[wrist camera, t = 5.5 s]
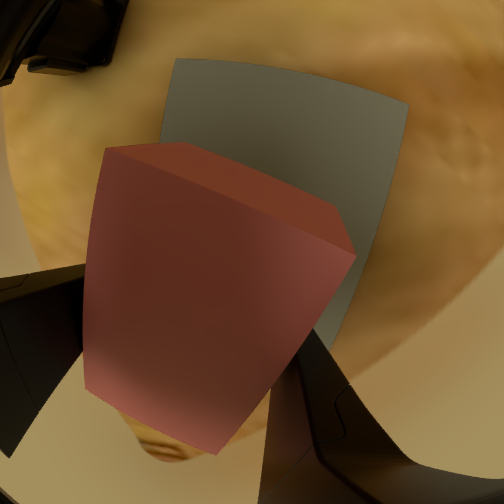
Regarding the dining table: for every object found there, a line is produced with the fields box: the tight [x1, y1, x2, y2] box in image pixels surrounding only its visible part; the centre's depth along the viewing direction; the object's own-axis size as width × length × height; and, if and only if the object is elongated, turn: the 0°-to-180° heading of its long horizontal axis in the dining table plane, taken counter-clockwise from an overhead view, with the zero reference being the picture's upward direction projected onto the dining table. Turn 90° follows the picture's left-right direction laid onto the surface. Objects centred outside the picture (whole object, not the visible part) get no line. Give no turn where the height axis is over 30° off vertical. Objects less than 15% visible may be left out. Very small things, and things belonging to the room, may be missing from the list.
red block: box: [83, 142, 357, 455], centre depth 8 cm, size 5×8×4 cm, turn 157°
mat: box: [159, 59, 409, 351], centre depth 18 cm, size 18×14×1 cm
